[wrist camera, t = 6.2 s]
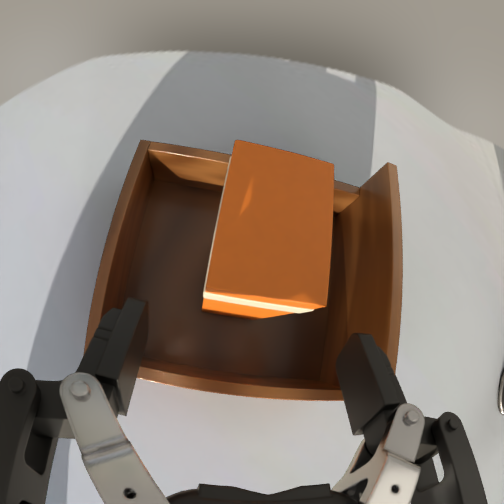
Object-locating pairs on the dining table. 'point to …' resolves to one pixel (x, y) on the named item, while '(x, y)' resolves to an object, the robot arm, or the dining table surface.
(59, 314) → the dining table surface
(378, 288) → the drawer
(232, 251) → the packet
